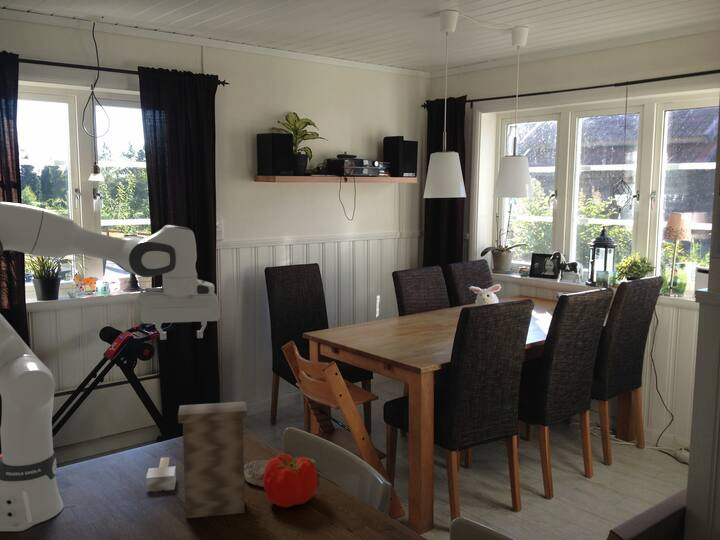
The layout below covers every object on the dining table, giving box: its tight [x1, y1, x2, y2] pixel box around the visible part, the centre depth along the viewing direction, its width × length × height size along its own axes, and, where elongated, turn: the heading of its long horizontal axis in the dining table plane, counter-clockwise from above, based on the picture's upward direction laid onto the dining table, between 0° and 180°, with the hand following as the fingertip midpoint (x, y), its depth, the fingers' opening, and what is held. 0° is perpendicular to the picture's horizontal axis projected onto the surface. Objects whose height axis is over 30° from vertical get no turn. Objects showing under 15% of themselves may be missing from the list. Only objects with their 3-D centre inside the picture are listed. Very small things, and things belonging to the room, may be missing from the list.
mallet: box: [145, 456, 177, 493], centre depth 180 cm, size 7×16×4 cm, turn 12°
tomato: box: [263, 453, 318, 508], centre depth 167 cm, size 13×14×12 cm
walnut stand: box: [177, 401, 248, 519], centre depth 161 cm, size 16×7×26 cm, turn 102°
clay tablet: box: [244, 457, 317, 488], centre depth 181 cm, size 14×5×20 cm
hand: (181, 338), depth 175 cm, fingers open, 8 cm apart
